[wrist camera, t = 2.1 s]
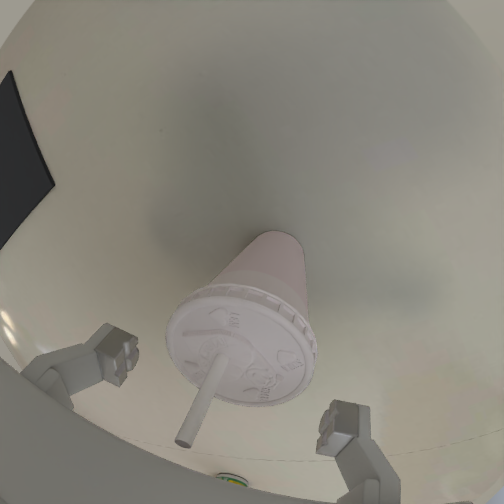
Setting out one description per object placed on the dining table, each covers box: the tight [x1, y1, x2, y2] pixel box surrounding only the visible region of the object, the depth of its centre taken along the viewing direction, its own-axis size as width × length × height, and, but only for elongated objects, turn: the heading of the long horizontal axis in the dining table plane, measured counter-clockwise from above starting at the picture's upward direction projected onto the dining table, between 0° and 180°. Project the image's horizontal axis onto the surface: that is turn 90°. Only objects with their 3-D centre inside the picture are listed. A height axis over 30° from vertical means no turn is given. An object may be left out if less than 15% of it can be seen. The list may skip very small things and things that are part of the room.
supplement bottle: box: [216, 474, 248, 487], centre depth 35 cm, size 5×5×10 cm
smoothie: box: [166, 231, 318, 448], centre depth 14 cm, size 6×6×14 cm
